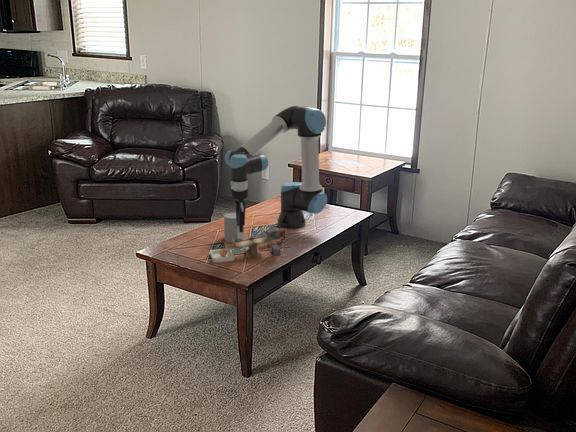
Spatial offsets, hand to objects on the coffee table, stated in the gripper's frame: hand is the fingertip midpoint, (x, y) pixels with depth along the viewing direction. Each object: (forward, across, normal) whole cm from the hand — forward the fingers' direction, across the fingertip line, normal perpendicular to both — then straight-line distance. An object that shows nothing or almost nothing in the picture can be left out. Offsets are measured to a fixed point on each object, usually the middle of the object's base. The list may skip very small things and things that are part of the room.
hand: (240, 237), depth 272 cm
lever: (+3, 0, +6) cm, 6 cm away
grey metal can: (+9, -23, 0) cm, 25 cm away
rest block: (+9, 0, +17) cm, 19 cm away
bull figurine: (+10, -12, +18) cm, 24 cm away
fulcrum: (+9, 0, +6) cm, 11 cm away
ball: (+6, 0, -9) cm, 11 cm away
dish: (+9, 0, -9) cm, 13 cm away
